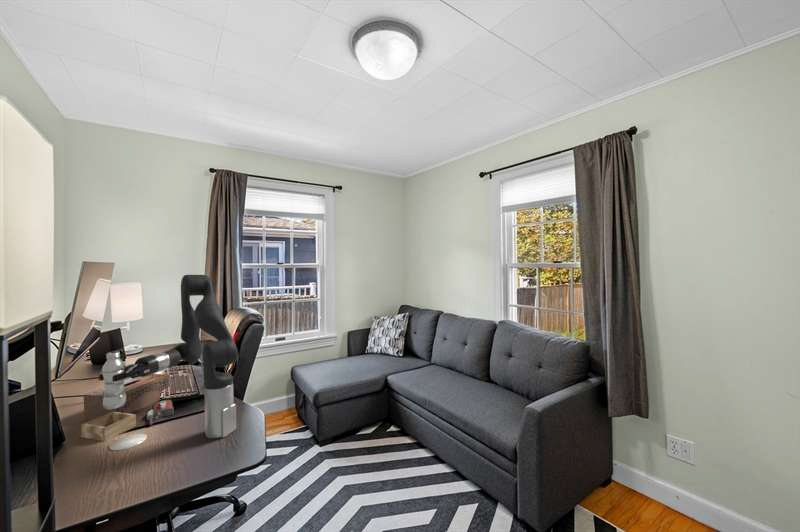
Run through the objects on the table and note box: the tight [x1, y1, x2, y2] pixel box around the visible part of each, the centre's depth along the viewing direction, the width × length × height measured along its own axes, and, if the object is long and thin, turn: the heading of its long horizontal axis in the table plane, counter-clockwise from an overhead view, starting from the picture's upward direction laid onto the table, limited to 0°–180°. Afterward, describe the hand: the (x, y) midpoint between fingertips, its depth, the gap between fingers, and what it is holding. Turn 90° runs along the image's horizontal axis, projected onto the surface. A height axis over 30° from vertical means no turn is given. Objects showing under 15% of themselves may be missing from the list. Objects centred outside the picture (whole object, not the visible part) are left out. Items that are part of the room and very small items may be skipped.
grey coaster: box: [109, 433, 148, 451], centre depth 114 cm, size 10×10×1 cm
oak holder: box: [80, 412, 137, 442], centre depth 121 cm, size 12×11×4 cm
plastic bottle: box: [101, 350, 126, 410], centre depth 118 cm, size 6×7×20 cm
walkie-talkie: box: [146, 399, 175, 426], centre depth 134 cm, size 9×4×20 cm
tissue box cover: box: [83, 373, 170, 420], centre depth 144 cm, size 26×14×10 cm, turn 171°
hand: (106, 378), depth 116 cm, fingers closed on plastic bottle, 6 cm apart
